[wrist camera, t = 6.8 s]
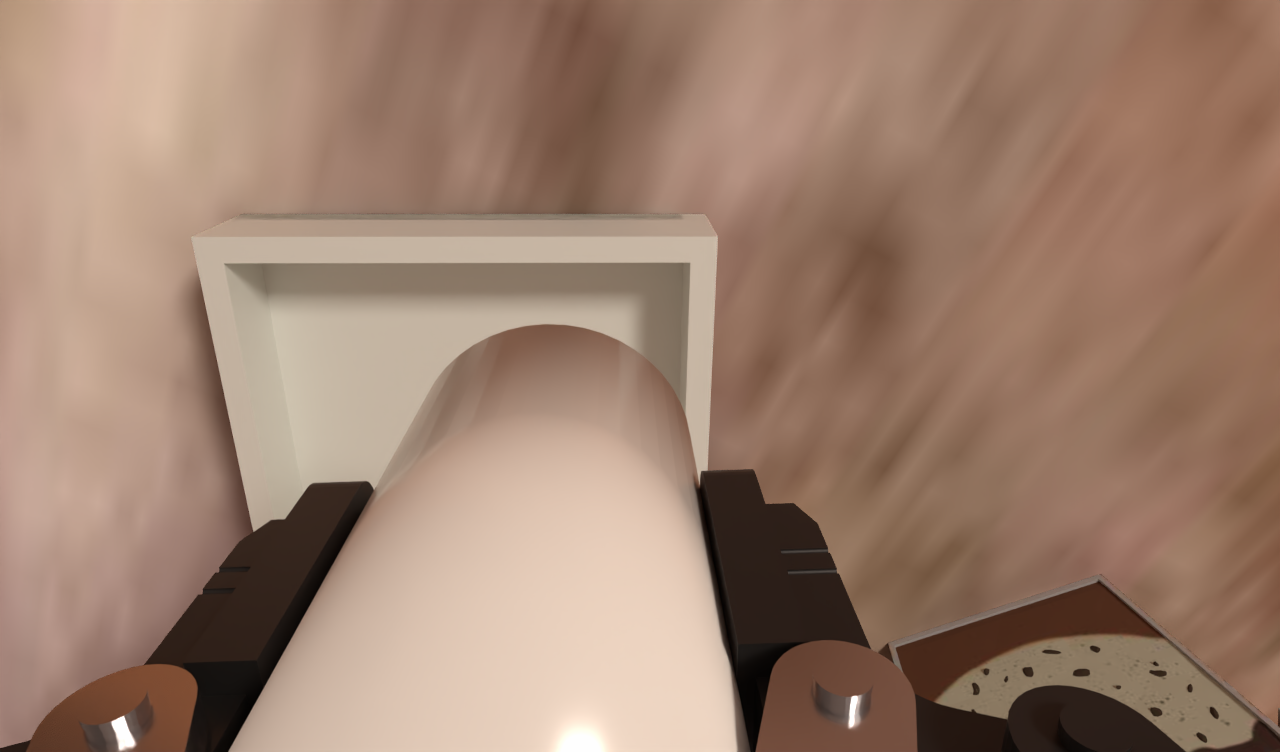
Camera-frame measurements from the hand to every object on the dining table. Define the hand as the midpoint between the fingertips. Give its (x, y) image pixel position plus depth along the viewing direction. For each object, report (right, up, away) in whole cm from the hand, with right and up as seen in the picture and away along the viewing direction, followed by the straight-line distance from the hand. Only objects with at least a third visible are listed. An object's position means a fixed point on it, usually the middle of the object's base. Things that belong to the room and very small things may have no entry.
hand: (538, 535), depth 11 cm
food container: (+18, -10, +24) cm, 32 cm away
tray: (-4, 0, +19) cm, 20 cm away
